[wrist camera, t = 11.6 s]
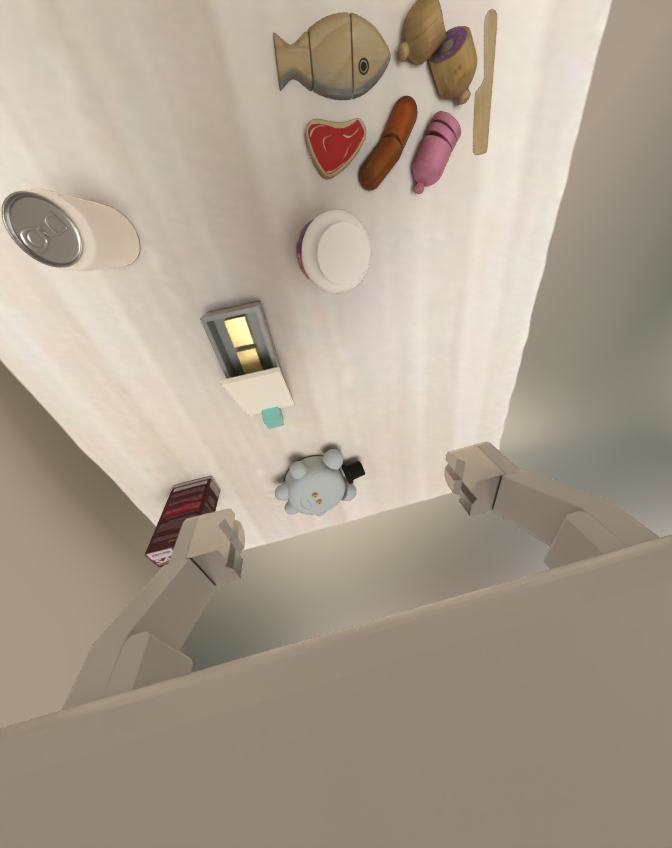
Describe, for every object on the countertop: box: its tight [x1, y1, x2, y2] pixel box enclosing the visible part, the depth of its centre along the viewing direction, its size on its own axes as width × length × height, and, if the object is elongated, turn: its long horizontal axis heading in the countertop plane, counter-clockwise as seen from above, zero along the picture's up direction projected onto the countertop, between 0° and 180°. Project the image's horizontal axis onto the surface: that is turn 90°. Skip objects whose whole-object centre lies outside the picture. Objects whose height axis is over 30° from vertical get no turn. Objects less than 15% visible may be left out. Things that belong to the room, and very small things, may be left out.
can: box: [2, 189, 140, 271], centre depth 29 cm, size 6×6×12 cm
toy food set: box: [273, 0, 497, 194], centre depth 31 cm, size 26×16×4 cm, turn 103°
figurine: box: [275, 449, 365, 516], centre depth 60 cm, size 17×8×20 cm
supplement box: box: [145, 476, 220, 567], centre depth 52 cm, size 9×5×16 cm, turn 100°
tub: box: [200, 301, 281, 379], centre depth 42 cm, size 11×8×4 cm
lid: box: [220, 367, 294, 428], centre depth 45 cm, size 14×9×4 cm
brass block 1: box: [224, 314, 255, 348], centre depth 41 cm, size 4×3×2 cm
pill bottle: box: [296, 209, 371, 294], centre depth 33 cm, size 8×8×14 cm
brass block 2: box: [236, 344, 264, 375], centre depth 44 cm, size 4×3×2 cm
